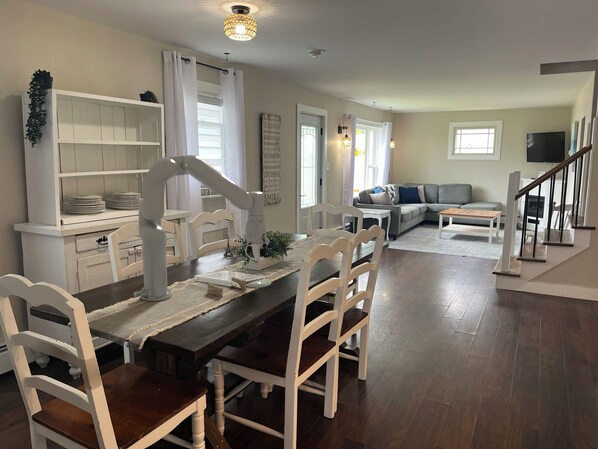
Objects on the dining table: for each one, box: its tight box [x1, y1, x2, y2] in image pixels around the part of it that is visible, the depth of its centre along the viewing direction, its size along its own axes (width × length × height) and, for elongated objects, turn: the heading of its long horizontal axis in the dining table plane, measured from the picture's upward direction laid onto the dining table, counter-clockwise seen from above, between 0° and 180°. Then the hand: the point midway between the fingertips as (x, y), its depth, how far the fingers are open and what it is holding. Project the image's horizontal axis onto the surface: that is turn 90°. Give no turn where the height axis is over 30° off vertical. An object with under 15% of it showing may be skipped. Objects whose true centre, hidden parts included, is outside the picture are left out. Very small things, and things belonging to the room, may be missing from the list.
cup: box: [244, 243, 265, 262], centre depth 214 cm, size 7×10×8 cm
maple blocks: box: [207, 276, 247, 298], centre depth 204 cm, size 15×9×4 cm, turn 138°
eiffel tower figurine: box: [223, 235, 238, 261], centre depth 266 cm, size 15×10×13 cm
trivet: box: [246, 277, 272, 289], centre depth 216 cm, size 14×14×1 cm
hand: (256, 254), depth 214 cm, fingers closed on cup, 8 cm apart
